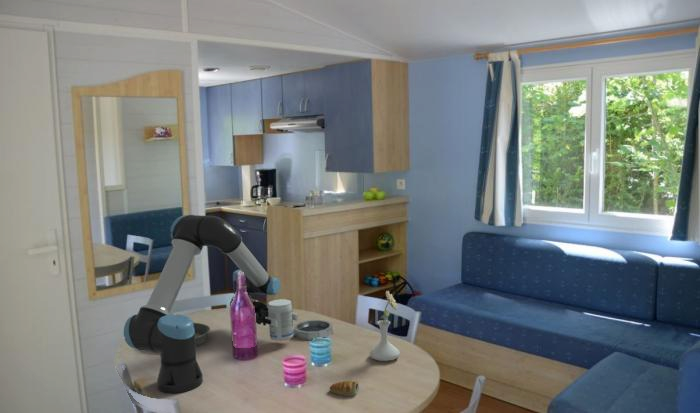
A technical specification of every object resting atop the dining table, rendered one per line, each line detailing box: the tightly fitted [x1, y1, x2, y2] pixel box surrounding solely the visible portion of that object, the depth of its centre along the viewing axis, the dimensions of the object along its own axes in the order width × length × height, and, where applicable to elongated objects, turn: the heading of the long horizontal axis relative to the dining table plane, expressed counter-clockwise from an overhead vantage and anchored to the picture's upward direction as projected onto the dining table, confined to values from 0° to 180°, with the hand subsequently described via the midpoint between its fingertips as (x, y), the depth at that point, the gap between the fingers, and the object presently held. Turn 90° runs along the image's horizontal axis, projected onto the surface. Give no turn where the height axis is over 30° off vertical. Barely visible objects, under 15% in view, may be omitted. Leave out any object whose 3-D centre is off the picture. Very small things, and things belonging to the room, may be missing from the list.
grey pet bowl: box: [293, 319, 334, 341], centre depth 244 cm, size 16×16×3 cm
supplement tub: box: [267, 298, 294, 342], centre depth 231 cm, size 10×10×15 cm
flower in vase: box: [369, 290, 401, 362], centre depth 213 cm, size 13×11×25 cm
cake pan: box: [193, 322, 211, 347], centre depth 240 cm, size 25×25×4 cm
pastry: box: [329, 379, 360, 397], centre depth 187 cm, size 9×7×4 cm
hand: (287, 320), depth 228 cm, fingers closed on supplement tub, 9 cm apart
